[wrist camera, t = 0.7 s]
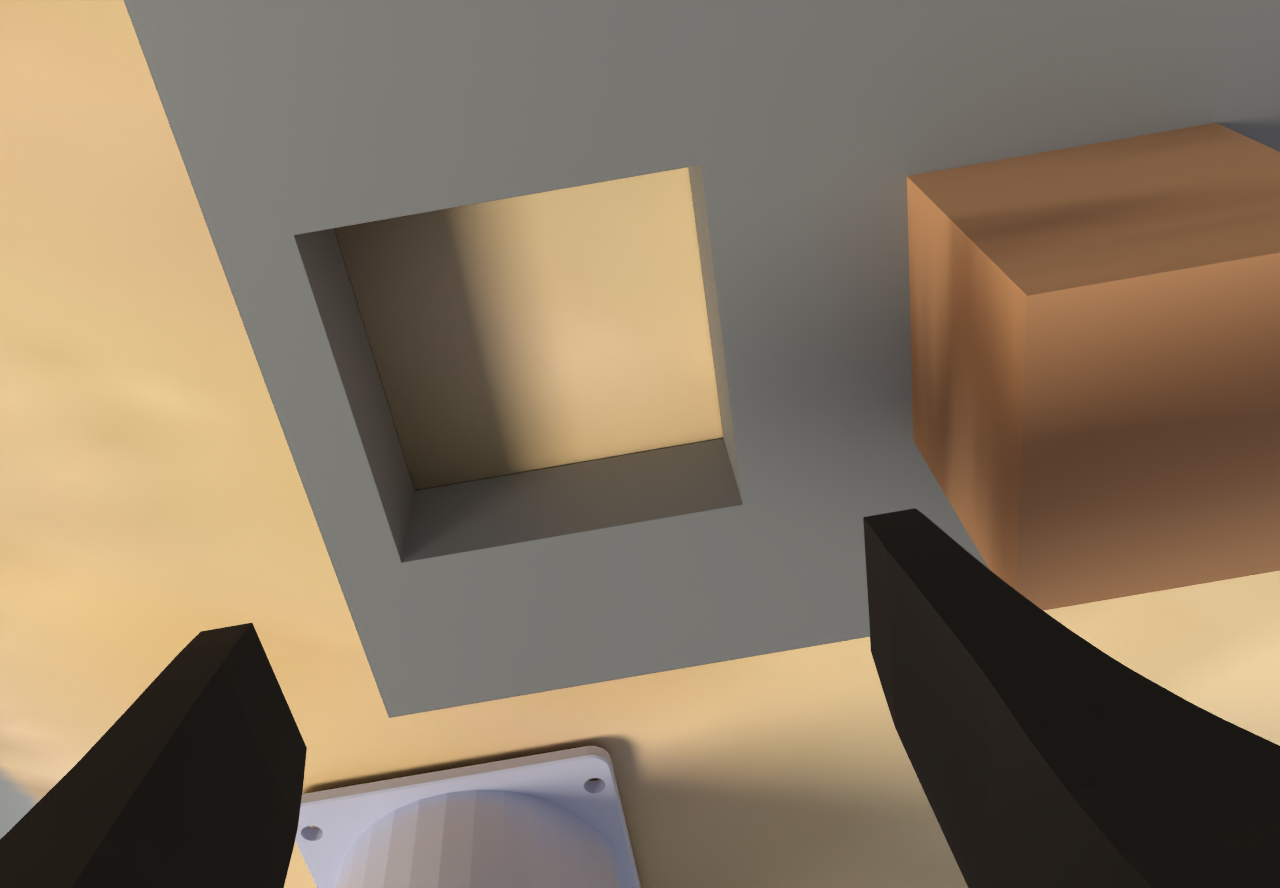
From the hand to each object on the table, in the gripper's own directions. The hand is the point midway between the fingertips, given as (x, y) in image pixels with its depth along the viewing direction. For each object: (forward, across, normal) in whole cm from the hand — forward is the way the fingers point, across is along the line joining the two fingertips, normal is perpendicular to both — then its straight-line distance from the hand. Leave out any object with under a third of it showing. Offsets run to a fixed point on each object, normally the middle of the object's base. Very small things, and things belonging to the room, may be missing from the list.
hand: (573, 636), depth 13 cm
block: (+7, -9, 0) cm, 11 cm away
